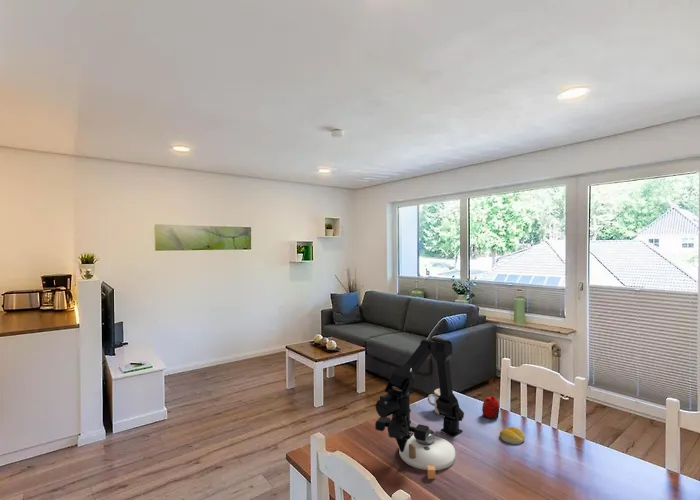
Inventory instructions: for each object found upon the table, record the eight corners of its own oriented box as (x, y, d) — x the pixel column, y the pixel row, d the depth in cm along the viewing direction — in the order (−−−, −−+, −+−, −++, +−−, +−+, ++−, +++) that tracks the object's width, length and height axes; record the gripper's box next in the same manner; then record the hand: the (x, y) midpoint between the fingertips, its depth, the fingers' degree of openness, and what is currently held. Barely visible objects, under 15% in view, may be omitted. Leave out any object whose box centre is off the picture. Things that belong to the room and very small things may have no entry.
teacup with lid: (455, 408, 173) (454, 384, 173) (453, 417, 165) (453, 391, 165) (429, 405, 178) (428, 381, 177) (426, 413, 169) (425, 388, 169)
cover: (423, 433, 147) (423, 423, 146) (438, 440, 141) (438, 429, 141) (411, 440, 142) (411, 429, 142) (426, 447, 137) (426, 436, 137)
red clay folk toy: (489, 411, 170) (489, 379, 170) (503, 417, 164) (503, 383, 164) (478, 416, 166) (478, 382, 166) (492, 422, 160) (492, 387, 160)
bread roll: (495, 437, 148) (495, 428, 148) (510, 431, 152) (510, 422, 152) (514, 447, 141) (514, 437, 141) (529, 440, 145) (528, 430, 145)
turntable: (422, 434, 150) (422, 419, 150) (466, 455, 135) (466, 438, 135) (388, 452, 137) (387, 436, 137) (432, 478, 122) (431, 460, 122)
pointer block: (427, 474, 125) (427, 465, 125) (434, 474, 125) (434, 465, 125) (428, 478, 123) (428, 469, 123) (435, 478, 122) (435, 469, 122)
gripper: (368, 412, 130) (369, 456, 130) (420, 423, 121) (421, 471, 121) (380, 400, 140) (381, 441, 140) (429, 409, 131) (430, 453, 131)
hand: (402, 451), depth 133 cm, fingers closed
